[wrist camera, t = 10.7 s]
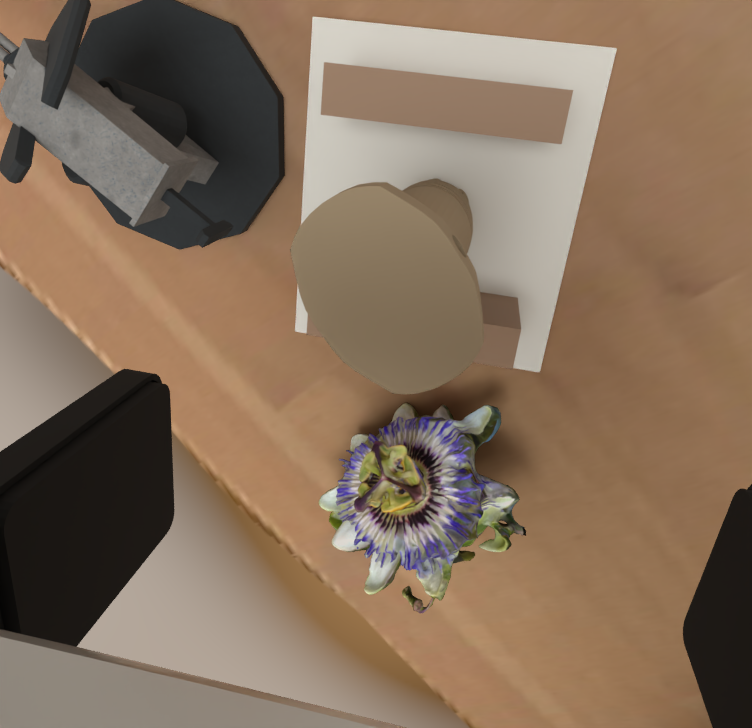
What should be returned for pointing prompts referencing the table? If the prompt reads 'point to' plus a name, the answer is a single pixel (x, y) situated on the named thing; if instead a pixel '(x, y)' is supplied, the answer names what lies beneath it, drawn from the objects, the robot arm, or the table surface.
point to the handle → (393, 282)
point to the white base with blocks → (464, 150)
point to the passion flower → (420, 498)
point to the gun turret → (150, 117)
